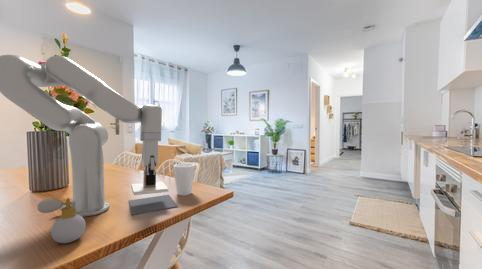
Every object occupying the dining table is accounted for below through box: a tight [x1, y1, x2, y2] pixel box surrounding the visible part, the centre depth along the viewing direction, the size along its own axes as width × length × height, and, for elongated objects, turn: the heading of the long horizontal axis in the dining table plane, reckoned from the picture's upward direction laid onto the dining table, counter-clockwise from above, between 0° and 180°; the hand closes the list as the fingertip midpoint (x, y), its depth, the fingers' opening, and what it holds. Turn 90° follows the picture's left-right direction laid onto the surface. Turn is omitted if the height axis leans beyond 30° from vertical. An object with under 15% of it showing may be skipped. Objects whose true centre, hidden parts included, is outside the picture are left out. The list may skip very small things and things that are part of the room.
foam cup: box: [173, 163, 196, 196], centre depth 103 cm, size 10×9×13 cm
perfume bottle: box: [37, 197, 86, 244], centre depth 60 cm, size 8×10×12 cm
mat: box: [128, 194, 179, 216], centre depth 89 cm, size 16×16×1 cm
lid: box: [131, 169, 169, 196], centre depth 88 cm, size 12×12×7 cm
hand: (149, 183), depth 88 cm, fingers closed on lid, 4 cm apart
